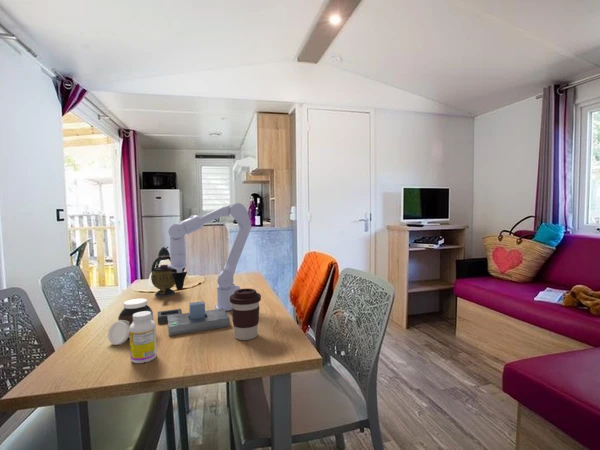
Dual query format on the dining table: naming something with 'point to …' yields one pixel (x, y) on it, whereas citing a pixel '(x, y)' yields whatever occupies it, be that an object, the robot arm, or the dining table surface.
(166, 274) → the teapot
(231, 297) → the coffee cup
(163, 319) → the holster
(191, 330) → the panel
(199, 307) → the plug
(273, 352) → the dining table surface
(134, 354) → the supplement bottle
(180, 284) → the robot arm
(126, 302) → the spread jar
